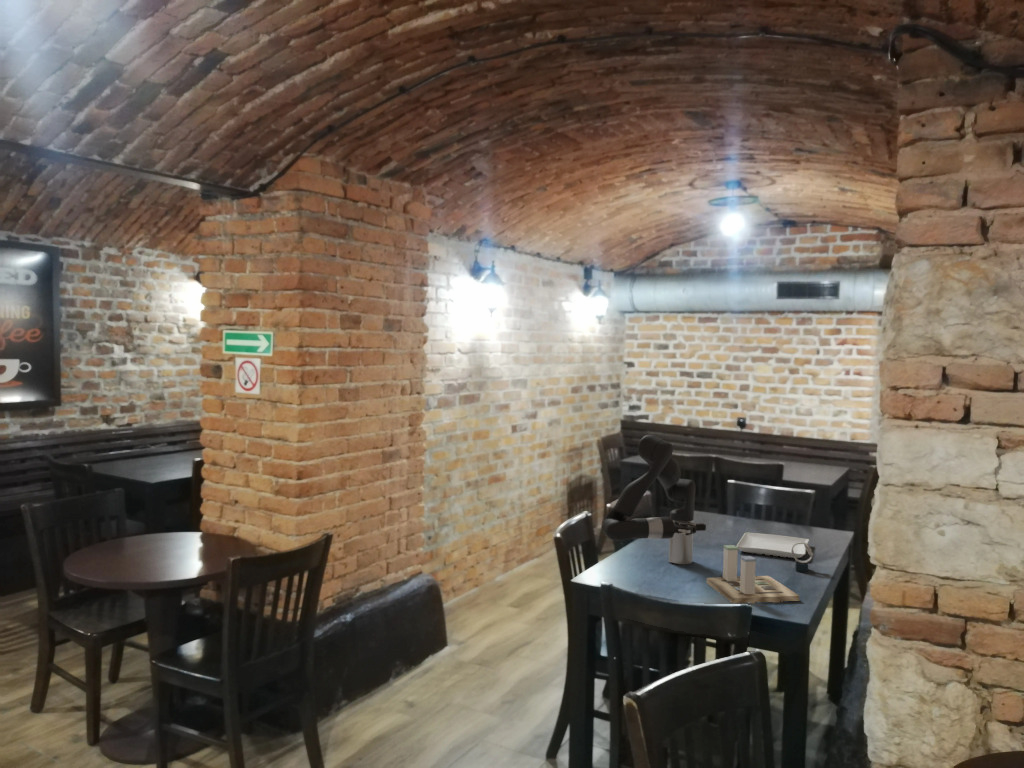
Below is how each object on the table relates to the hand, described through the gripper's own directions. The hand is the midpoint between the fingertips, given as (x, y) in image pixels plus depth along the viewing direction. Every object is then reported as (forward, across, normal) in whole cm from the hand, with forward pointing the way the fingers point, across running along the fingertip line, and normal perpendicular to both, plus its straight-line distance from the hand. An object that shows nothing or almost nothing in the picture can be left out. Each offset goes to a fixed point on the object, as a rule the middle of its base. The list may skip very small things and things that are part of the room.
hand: (704, 526), depth 272 cm
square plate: (+50, +44, +22) cm, 70 cm away
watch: (+47, +16, +22) cm, 54 cm away
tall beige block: (+10, 0, +19) cm, 22 cm away
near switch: (+10, -14, +19) cm, 26 cm away
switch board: (+15, -7, +22) cm, 27 cm away
